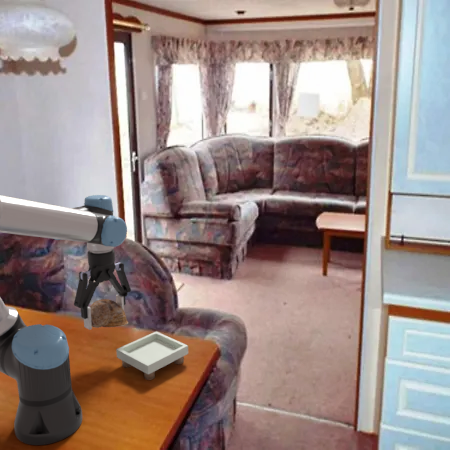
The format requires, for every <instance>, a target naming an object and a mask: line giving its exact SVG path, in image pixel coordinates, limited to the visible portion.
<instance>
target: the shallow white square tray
mask: <svg viewBox="0 0 450 450" xmlns="http://www.w3.org/2000/svg"><path fill="white" fill-rule="evenodd" d="M115 351H116V358H118V359H119V360H121V365H122V367H123V368H130V367H133V368H136V369H137V370H139V371H141V372H143V373H144V374H143V375H144V379H145V380H147V381H151V380H153V379H155V377H156V376H155V375H156V374H155V373H156V371H158V370H159V369H161V368H164V367H166V366H167V365H170V364H171V363H173V362H174V364H175V365H182V364H183V363H184V361H185V359H184V357H185V356H187V355H188V354H189V344H188V345H187V344H186V343H183V342H182V341H179V340H176V339H174V338H173V337H170V336H168V335H166V334H163V333H162V332H160V331H157V330H156V331H153V332H152V333H150V334H147V335H145V336H143V337H140V338H138V339H136V340H134V341H132V342H129V343H127V344H125V345H122V346H121V347H118V348H116V350H115Z"/></svg>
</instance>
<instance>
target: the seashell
mask: <svg viewBox="0 0 450 450" xmlns="http://www.w3.org/2000/svg"><path fill="white" fill-rule="evenodd" d="M89 307H91V322H92V328H96V329H98V328H116V327H123V326H127V325H128V324H129V321H128V319H127V314H126V311H125V309H124V310H123V309H122V307H121V306H120V305H119V304H118V303H116V301H114V300H111V299H109V298H102V299H99V300H95V301H94V302H93V303H91V305H89Z"/></svg>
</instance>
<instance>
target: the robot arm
mask: <svg viewBox="0 0 450 450" xmlns="http://www.w3.org/2000/svg"><path fill="white" fill-rule="evenodd" d="M127 232H128V226H127V224H126V222H125V220H124V219H123V218H121V217H119V216H115V215H114V208H113V201H112V198H111V197H110V196H109V195H104V194H95V195H94V194H93V195H88V196H86V197H85V198H84V203H83V205H81V206H78V207H76V206H75V207H67V206H62V205H55V204H50V203H46V202H40V201H35V200H29V199H24V198H20V197H19V198H18V197H13V196H10V195H9V196H8V195H2V194H0V233H2V234H3V233H4V234H12V235H19V236H28V237H37V238H39V237H40V238H46V239H53V240H55V241H61V240H63V241H72V242H80V243H86V249H87V250H88V251H87V264H88V270H87V271H79V272H78V278H79V279H78V285H77V288H76V293H75V297H74V302H73V305H74V307H76V308H78V309H80V316H81V319H83V325H84V328H85V329H87V330H89V331H90V330H92V329H93V327H92V322H91V307H90V303H91V302H92V298H93V296H94V294H95V293H96V290H97V287H99V286H100V283H103V282H109V283H110V284H111V286H112V287H113V288H114V290H115V291H116V292H117V294H116V295H115V299H116V300H115V302H116V303H118V304H119V305H120V306H121V307H122V309H123V310H124V311H125V306H126V297H128V296H129V294H128V293H131V286H130V284H129V280H128V277H127V275H126V272H125V264H124V263H123V262H120V261H116V254H115V253H116V251H115V250H114V249H115V248H116V247H119V246H120V245H122V244H123V242H124V241H125V240H126V238H127ZM115 271H116V274H117V277H118V279H117V277H116V275H115V274H114V272H115ZM118 280H119V281H118ZM0 373H2V374H4V375H6V376H8V377H10V378H12V379H14V380H15V381H16V385H17V392H18V398H19V399H18V405H17V409H16V413H15V418H14V423H13V424H14V425H13V426H14V434H15V436H16V438H17V440H19V441H20V442H21V443H24V444H27V445H32V446H44V445H50V444H54V443H57V442H61V441H62V440H64V439H65V440H66V438H68V437H70V436H72V435H73V434H74V433H75V432H77V430H78V429H79V428H80V426H81V425H82V423H83V410H82V407H81V405H80V403H79V400H78V399H77V397H76V395H75V392H74V390H73V387H72V375H71V365H70V346H69V344H68V339H67V336H66V334H65V332H64V331H63V330H62V329H60V328H59V327H57V326H56V325H55V326H54V325H53V324H44V325H42V323H41V324H40V323H39V324H32V325H31V324H30V325H28V326H27V325H26V323H25V322H24V320H23V319H22V316H21V315H20V314H19V312H18V311H17V308H15V307H13V306H8V305H5V303H4V301H3V299H2V298H1V296H0Z"/></svg>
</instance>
